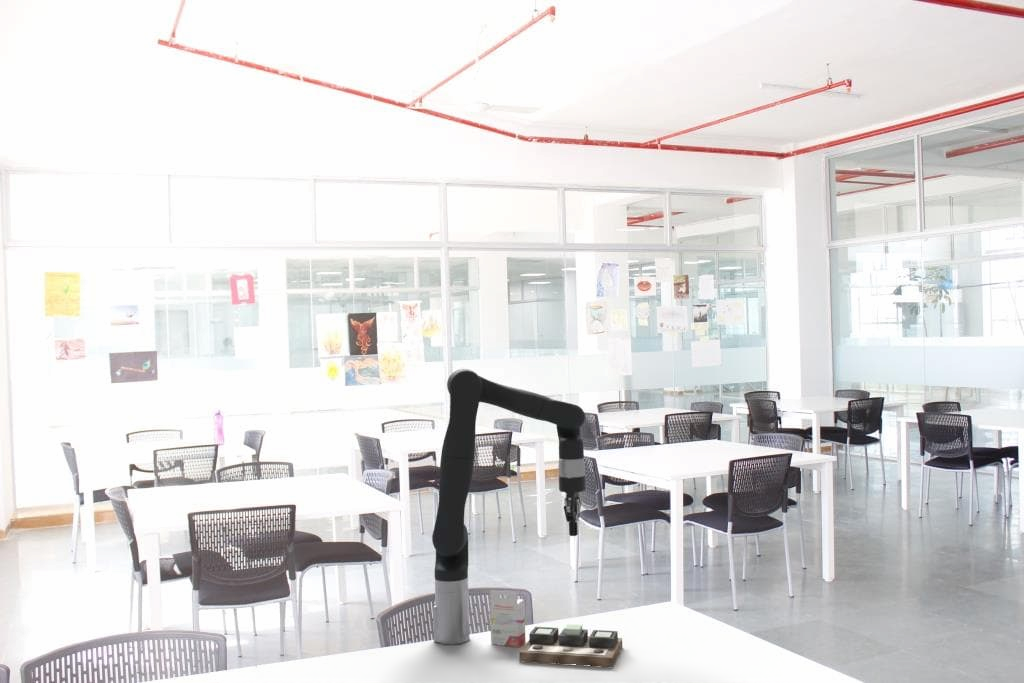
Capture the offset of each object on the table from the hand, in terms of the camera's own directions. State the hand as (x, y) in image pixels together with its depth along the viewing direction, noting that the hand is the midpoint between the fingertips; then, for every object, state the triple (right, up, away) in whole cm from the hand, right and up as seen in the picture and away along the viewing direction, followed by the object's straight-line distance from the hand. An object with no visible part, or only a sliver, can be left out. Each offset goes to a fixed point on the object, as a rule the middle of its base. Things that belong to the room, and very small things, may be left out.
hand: (573, 535), depth 264 cm
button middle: (-1, -22, -18) cm, 29 cm away
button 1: (-9, -24, -16) cm, 30 cm away
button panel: (-2, -27, -20) cm, 34 cm away
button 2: (+6, -24, -20) cm, 32 cm away
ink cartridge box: (-18, -28, -9) cm, 35 cm away
